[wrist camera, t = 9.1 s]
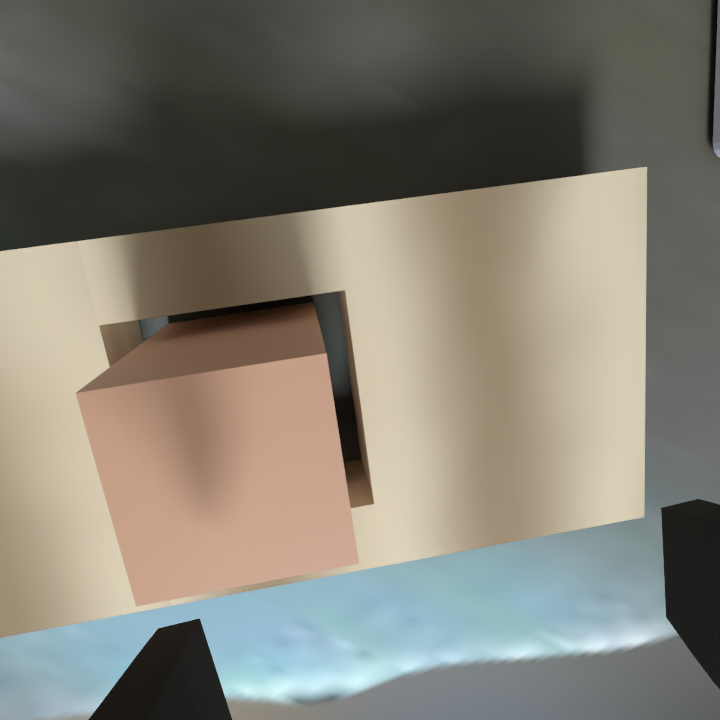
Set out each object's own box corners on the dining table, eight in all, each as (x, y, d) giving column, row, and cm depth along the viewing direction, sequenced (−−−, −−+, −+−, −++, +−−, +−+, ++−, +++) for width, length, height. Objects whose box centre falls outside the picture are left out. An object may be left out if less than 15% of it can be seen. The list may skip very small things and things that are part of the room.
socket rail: (584, 177, 16) (646, 166, 13) (590, 472, 19) (644, 517, 16) (-180, 278, 15) (-298, 290, 12) (-61, 589, 17) (-133, 662, 14)
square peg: (313, 301, 16) (326, 353, 10) (334, 434, 17) (359, 563, 11) (168, 323, 16) (75, 392, 9) (199, 457, 17) (136, 606, 10)
